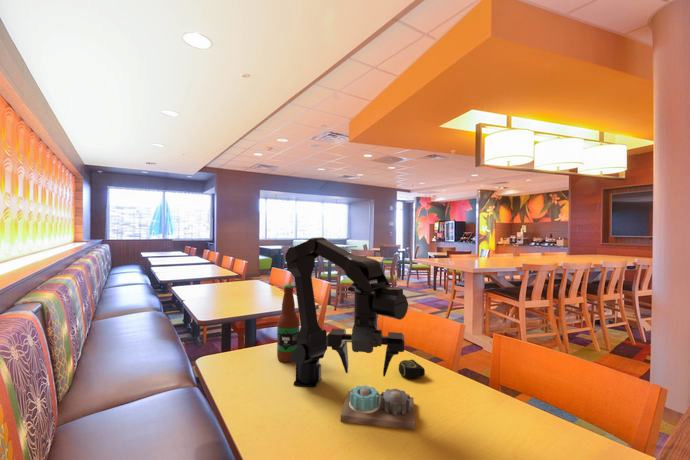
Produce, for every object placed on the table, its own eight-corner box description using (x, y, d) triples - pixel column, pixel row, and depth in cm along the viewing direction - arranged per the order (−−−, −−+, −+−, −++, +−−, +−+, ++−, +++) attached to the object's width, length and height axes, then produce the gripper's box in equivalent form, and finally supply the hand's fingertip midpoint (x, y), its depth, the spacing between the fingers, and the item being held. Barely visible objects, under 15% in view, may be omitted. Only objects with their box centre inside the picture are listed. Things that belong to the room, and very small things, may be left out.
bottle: (273, 361, 107) (273, 286, 106) (282, 353, 114) (282, 282, 113) (294, 364, 105) (294, 288, 105) (301, 355, 112) (302, 284, 112)
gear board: (340, 421, 75) (340, 400, 75) (348, 396, 86) (348, 377, 85) (415, 430, 72) (415, 408, 72) (413, 403, 83) (413, 383, 83)
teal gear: (348, 410, 76) (348, 397, 76) (352, 394, 83) (352, 383, 83) (377, 413, 75) (377, 400, 75) (379, 397, 82) (379, 386, 82)
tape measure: (425, 379, 96) (426, 366, 96) (405, 382, 94) (405, 369, 94) (414, 369, 102) (414, 357, 102) (394, 372, 100) (394, 360, 100)
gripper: (320, 318, 72) (320, 386, 73) (404, 323, 69) (404, 395, 70) (331, 306, 83) (331, 365, 84) (404, 309, 80) (403, 371, 80)
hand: (365, 374), depth 79 cm, fingers open, 9 cm apart
